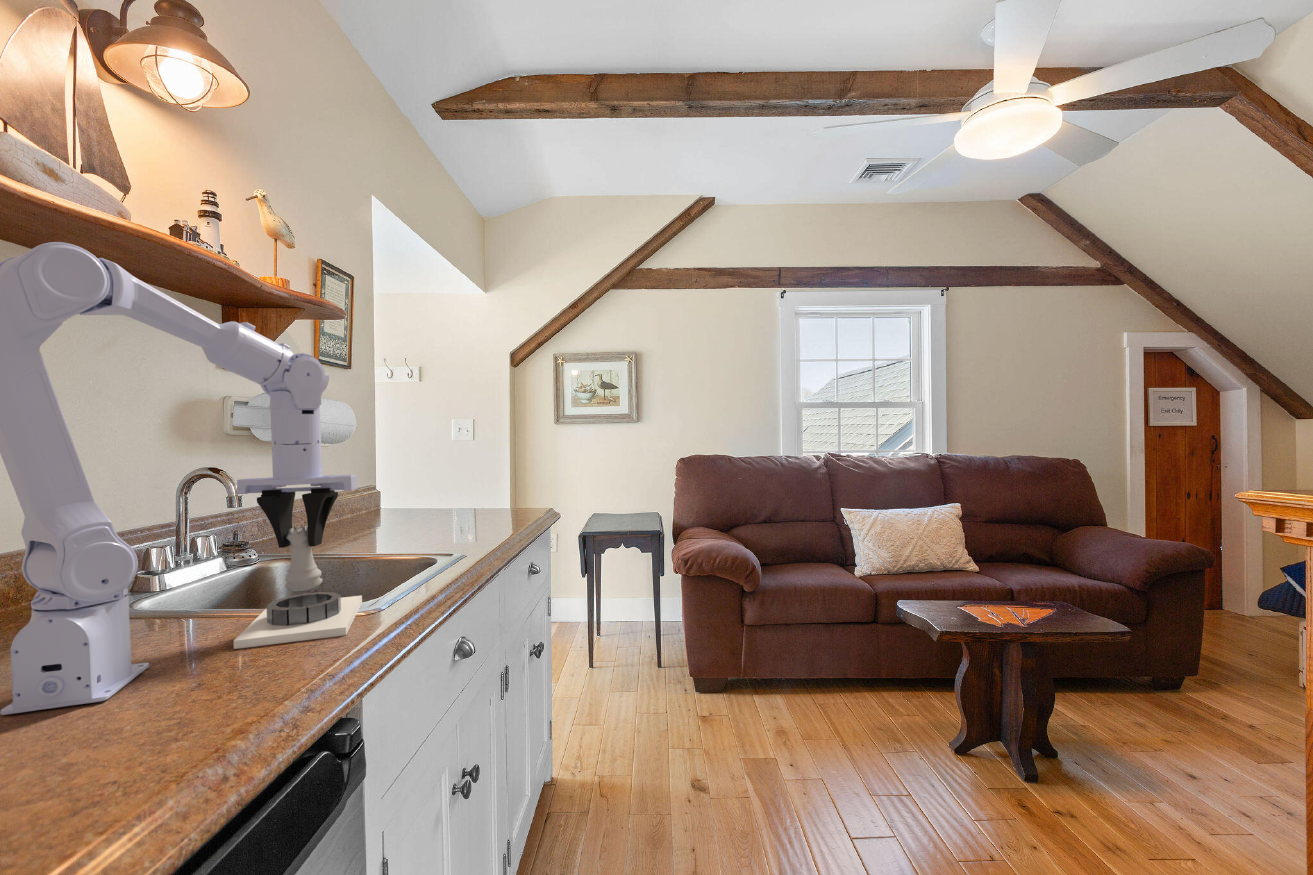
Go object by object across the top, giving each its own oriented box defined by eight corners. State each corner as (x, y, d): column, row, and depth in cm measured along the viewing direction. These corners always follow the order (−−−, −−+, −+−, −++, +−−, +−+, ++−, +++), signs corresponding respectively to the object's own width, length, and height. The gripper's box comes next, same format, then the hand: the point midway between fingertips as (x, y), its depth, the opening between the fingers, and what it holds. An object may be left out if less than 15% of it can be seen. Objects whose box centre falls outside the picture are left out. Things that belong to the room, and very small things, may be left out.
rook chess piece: (330, 581, 85) (326, 524, 84) (308, 592, 80) (303, 533, 80) (300, 580, 85) (296, 524, 85) (277, 591, 81) (271, 532, 80)
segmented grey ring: (334, 620, 80) (334, 604, 80) (260, 628, 77) (259, 613, 77) (344, 603, 88) (344, 589, 88) (277, 610, 85) (276, 596, 85)
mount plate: (345, 635, 77) (345, 627, 77) (233, 649, 73) (233, 640, 73) (362, 602, 92) (361, 595, 92) (269, 612, 88) (269, 605, 88)
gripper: (364, 442, 86) (368, 538, 87) (257, 445, 85) (261, 542, 86) (342, 443, 79) (346, 547, 80) (225, 446, 78) (229, 552, 79)
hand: (300, 545), depth 82 cm, fingers closed on rook chess piece, 3 cm apart
